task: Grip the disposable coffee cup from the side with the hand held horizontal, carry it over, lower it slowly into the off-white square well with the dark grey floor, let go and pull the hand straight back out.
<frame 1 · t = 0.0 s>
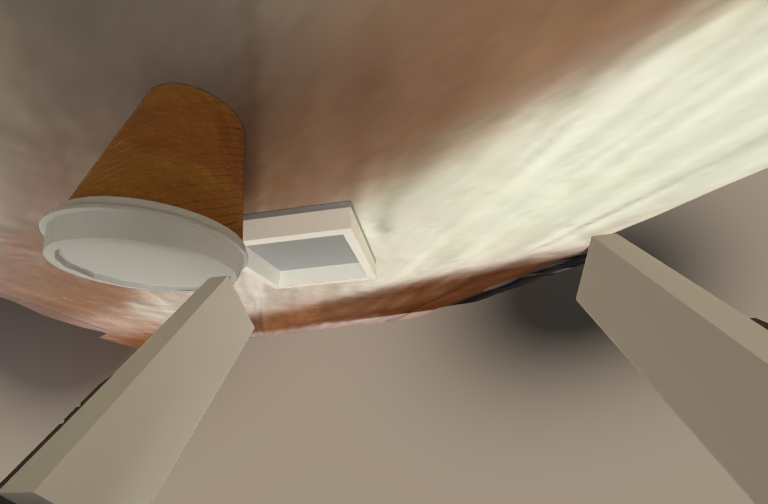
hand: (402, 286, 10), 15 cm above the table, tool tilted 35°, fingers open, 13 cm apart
disposable coffee cup: (199, 120, 21), on the table
square well: (306, 242, 40), on the table
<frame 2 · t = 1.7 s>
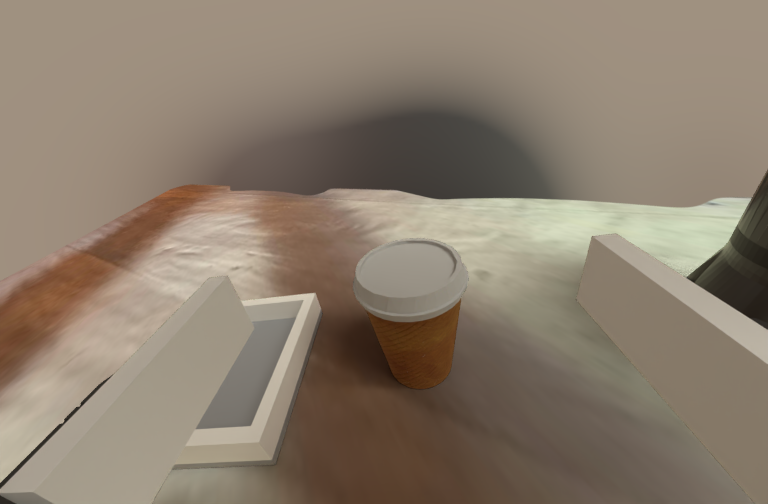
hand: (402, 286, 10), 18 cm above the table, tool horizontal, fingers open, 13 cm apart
disposable coffee cup: (420, 362, 29), on the table
square well: (229, 375, 31), on the table
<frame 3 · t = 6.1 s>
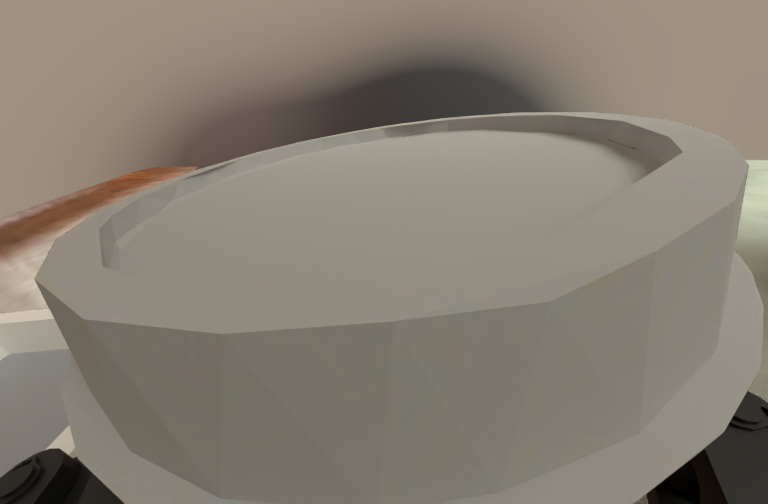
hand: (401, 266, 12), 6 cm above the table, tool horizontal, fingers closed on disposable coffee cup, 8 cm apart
disposable coffee cup: (423, 472, 11), on the table, touching gripper
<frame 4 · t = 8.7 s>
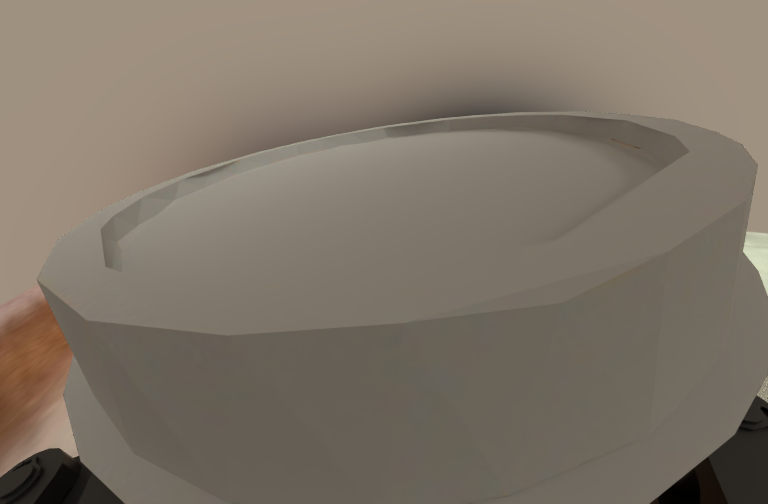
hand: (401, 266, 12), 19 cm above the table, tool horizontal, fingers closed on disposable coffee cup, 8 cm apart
disposable coffee cup: (425, 473, 11), point 12 cm above the table, touching gripper
when the fingers open (9 cm above the table, at t = 11.5 s): disposable coffee cup drops 2 cm, point 1 cm above the table.
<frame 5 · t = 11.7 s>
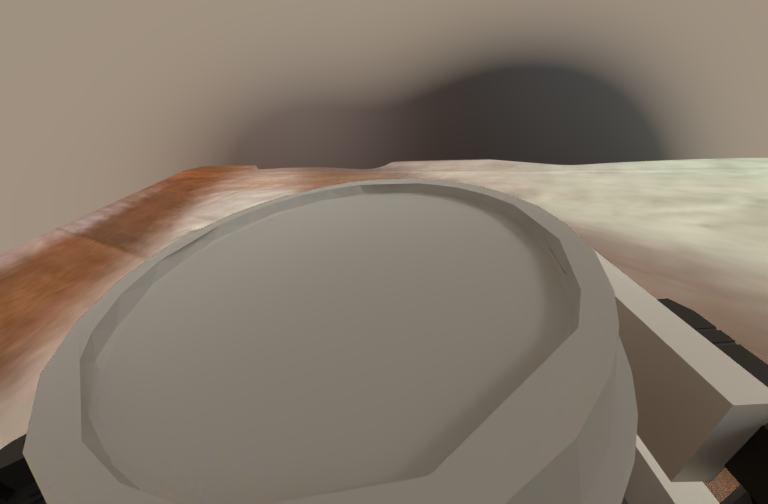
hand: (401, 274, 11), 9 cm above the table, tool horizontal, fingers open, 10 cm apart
disposable coffee cup: (398, 496, 12), point 1 cm above the table, touching gripper
square well: (427, 498, 12), on the table
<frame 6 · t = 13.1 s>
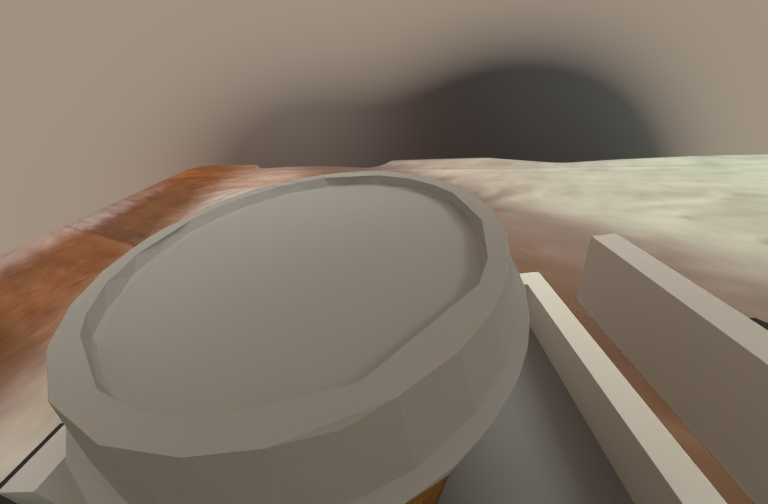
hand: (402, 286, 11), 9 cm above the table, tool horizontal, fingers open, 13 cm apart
disposable coffee cup: (375, 458, 13), point 1 cm above the table, touching square well
square well: (428, 445, 14), on the table
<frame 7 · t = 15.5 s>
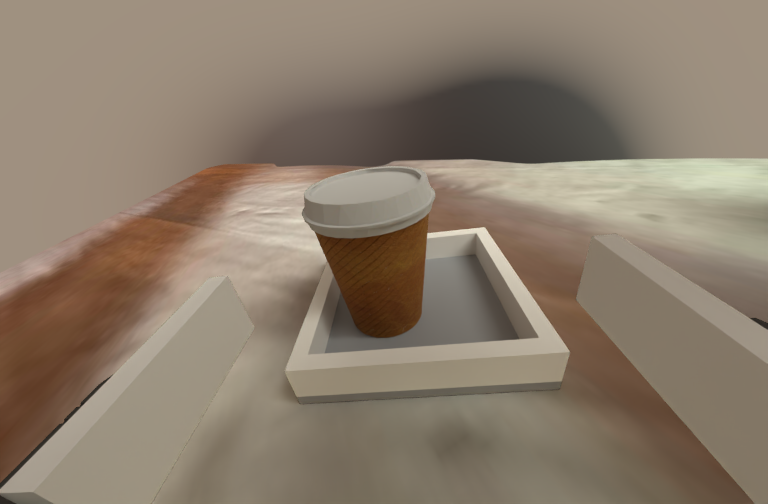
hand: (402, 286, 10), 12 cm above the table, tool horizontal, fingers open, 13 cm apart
disposable coffee cup: (387, 313, 25), point 1 cm above the table, touching square well
square well: (415, 309, 26), on the table
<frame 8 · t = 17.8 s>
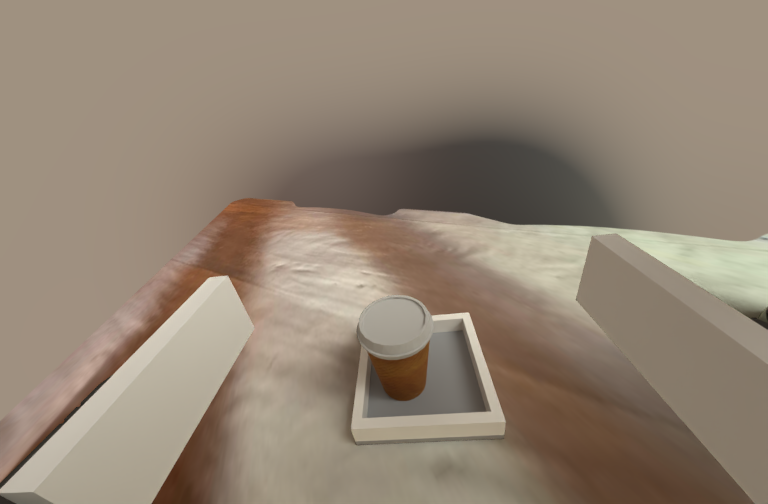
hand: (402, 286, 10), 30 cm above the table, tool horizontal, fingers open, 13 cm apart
disposable coffee cup: (404, 380, 40), point 1 cm above the table, touching square well
square well: (421, 376, 41), on the table
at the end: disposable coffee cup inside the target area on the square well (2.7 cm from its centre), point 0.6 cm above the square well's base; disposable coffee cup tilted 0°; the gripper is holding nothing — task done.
